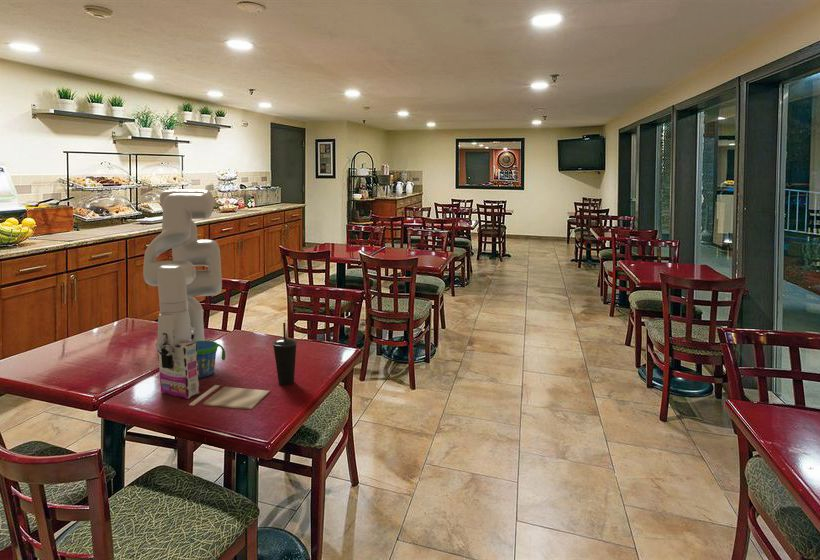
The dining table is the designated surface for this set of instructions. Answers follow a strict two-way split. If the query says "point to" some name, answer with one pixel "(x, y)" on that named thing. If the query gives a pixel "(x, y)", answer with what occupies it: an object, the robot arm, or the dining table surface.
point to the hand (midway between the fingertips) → (178, 362)
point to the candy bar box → (181, 372)
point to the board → (236, 398)
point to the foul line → (204, 395)
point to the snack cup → (207, 357)
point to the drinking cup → (285, 358)
